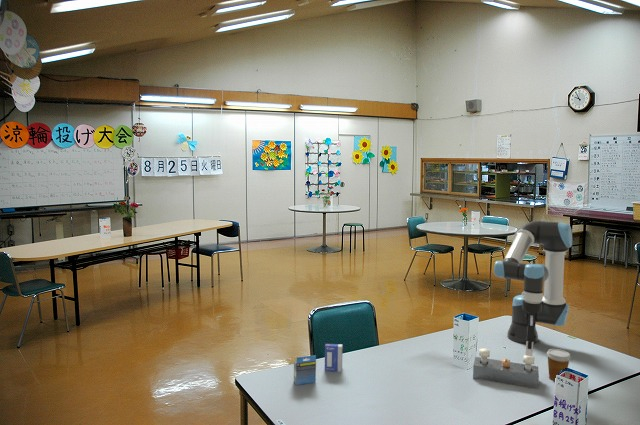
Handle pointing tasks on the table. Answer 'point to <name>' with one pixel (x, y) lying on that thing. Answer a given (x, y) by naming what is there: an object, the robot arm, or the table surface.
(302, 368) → the label tape box
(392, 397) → the table surface
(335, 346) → the walkman
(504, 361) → the dial
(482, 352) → the knob
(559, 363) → the disposable coffee cup
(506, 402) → the table surface
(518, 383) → the console
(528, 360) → the knob
